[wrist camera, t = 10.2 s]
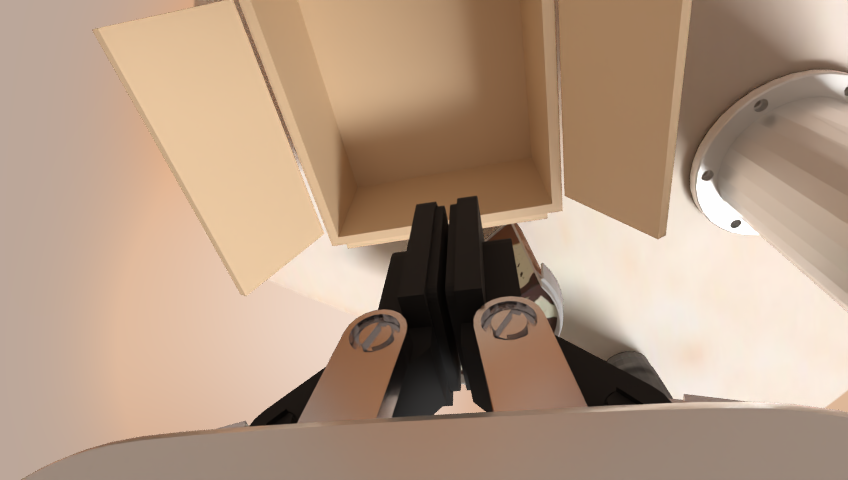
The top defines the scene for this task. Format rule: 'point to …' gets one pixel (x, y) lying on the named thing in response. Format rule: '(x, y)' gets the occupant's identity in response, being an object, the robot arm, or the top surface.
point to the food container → (533, 278)
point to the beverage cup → (639, 369)
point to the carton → (416, 107)
